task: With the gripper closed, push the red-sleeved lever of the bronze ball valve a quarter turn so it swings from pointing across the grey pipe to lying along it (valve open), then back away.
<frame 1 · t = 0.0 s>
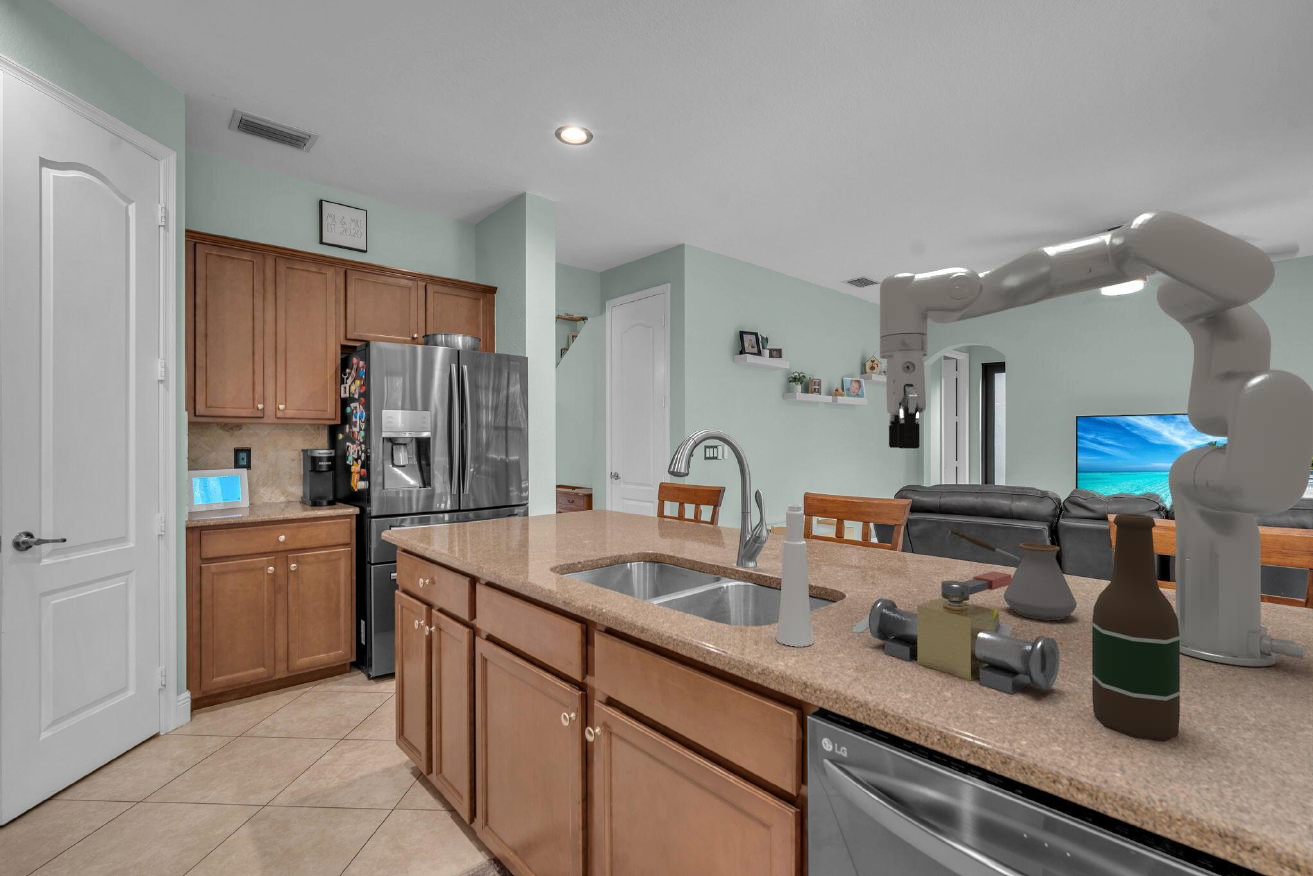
hand: (903, 447, 102), 31 cm above the worktop, tool pointing down, fingers open, 9 cm apart
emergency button: (961, 629, 105), on the worktop
valve: (955, 666, 85), on the worktop
lever: (976, 584, 89), point 11 cm above the worktop, hinge at 0.0°
cosmetic bottle: (794, 642, 96), on the worktop
coffee pot: (1008, 612, 113), on the worktop
butter knife: (870, 615, 112), on the worktop
beer bottle: (1134, 726, 68), on the worktop
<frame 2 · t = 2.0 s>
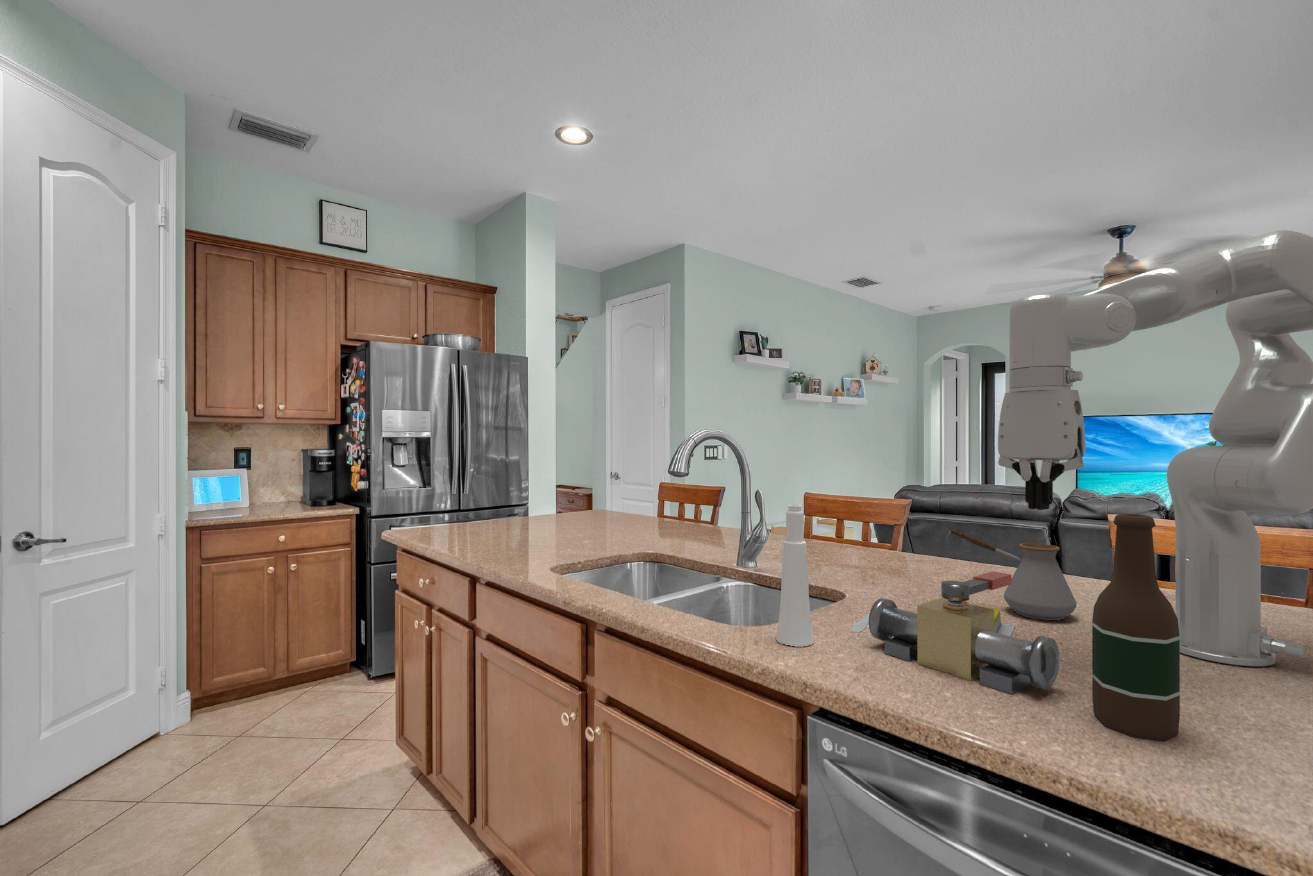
hand: (1038, 508, 86), 23 cm above the worktop, tool pointing down, fingers closed
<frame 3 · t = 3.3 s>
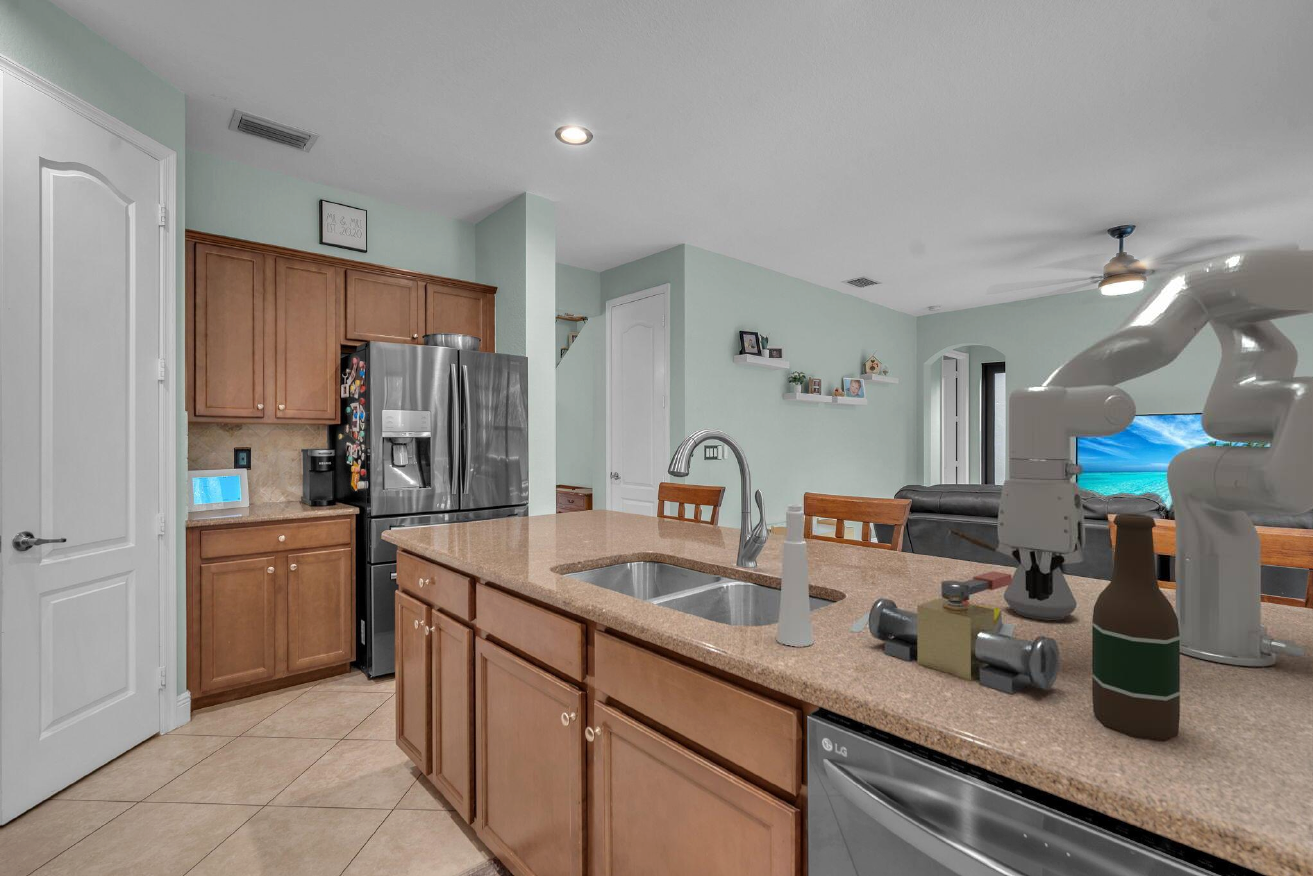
hand: (1039, 598, 86), 10 cm above the worktop, tool pointing down, fingers closed
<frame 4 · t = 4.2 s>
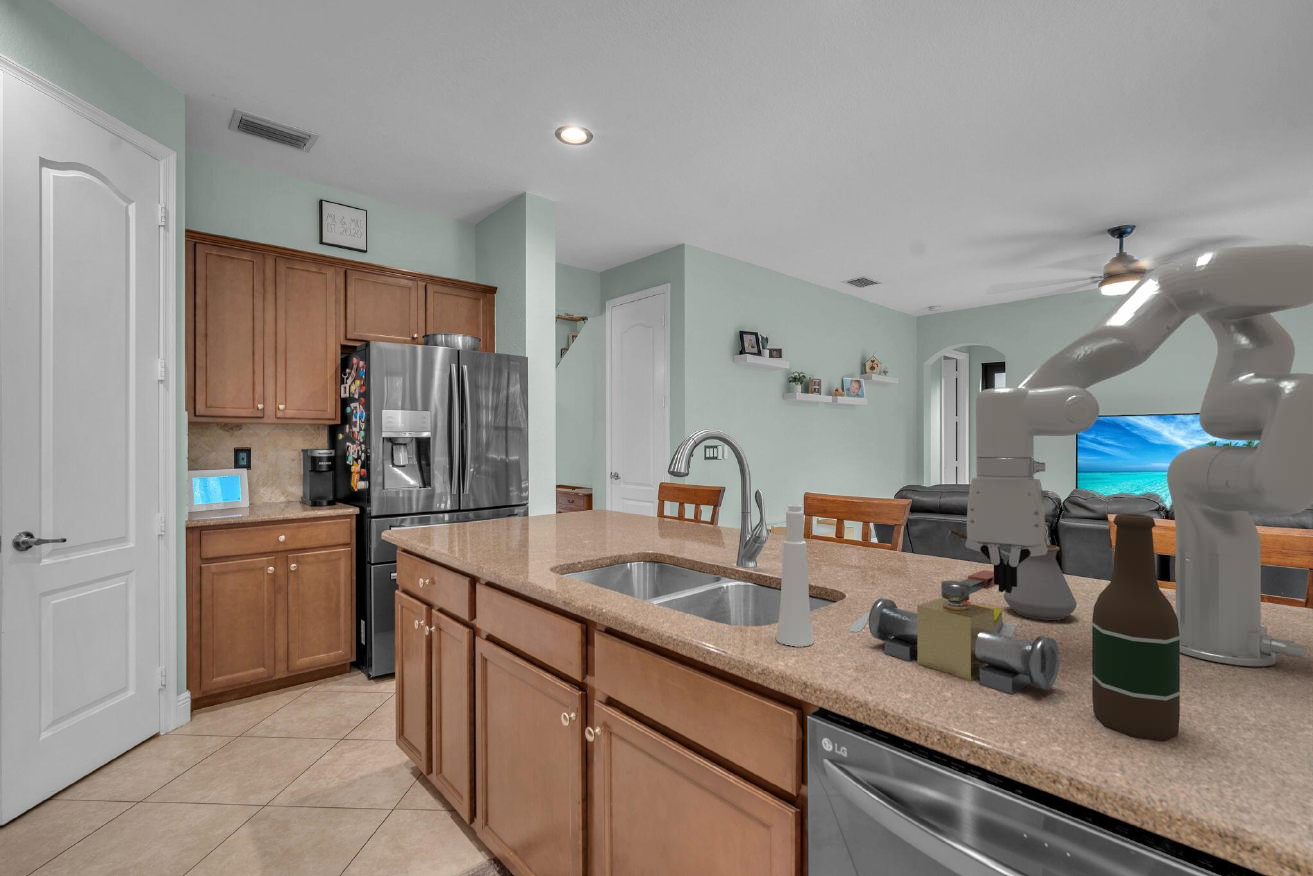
hand: (1005, 590, 90), 10 cm above the worktop, tool pointing down, fingers closed
lever: (972, 583, 90), point 11 cm above the worktop, hinge at 5.2°, touching gripper
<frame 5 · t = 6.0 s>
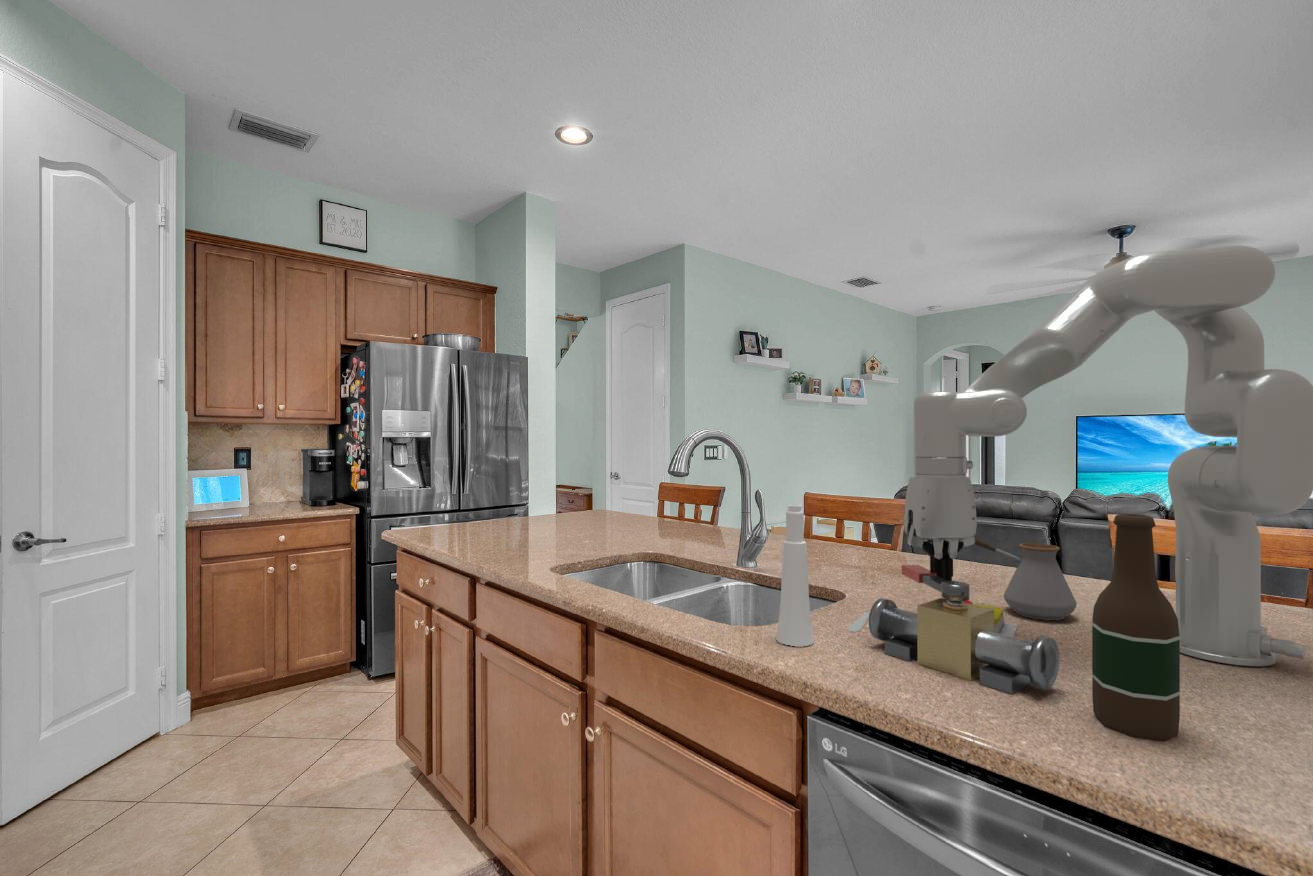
hand: (941, 581, 96), 10 cm above the worktop, tool pointing down, fingers closed
lever: (933, 580, 92), point 11 cm above the worktop, hinge at 54.5°, touching gripper
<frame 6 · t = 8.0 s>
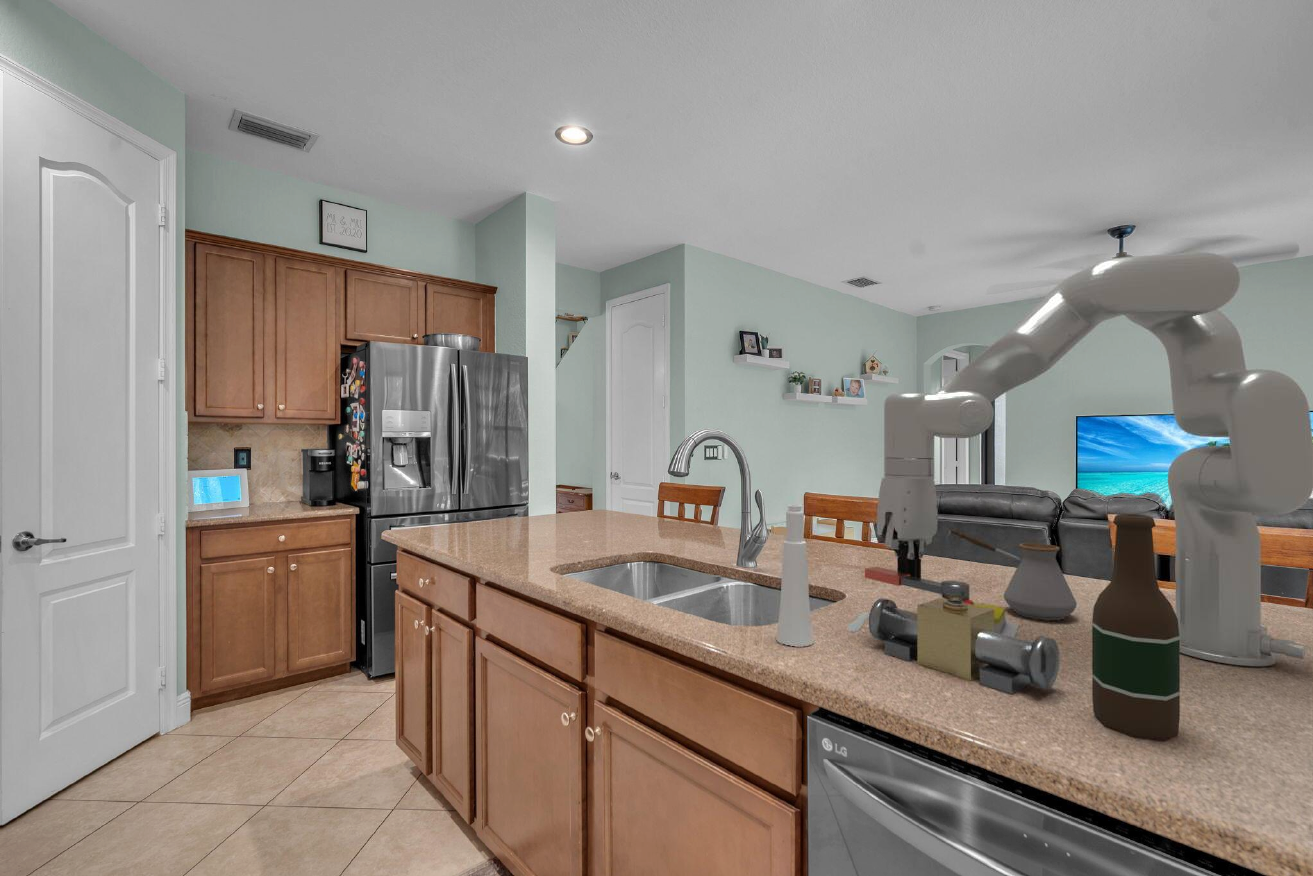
hand: (909, 581, 97), 10 cm above the worktop, tool pointing down, fingers closed
lever: (915, 581, 91), point 11 cm above the worktop, hinge at 84.8°
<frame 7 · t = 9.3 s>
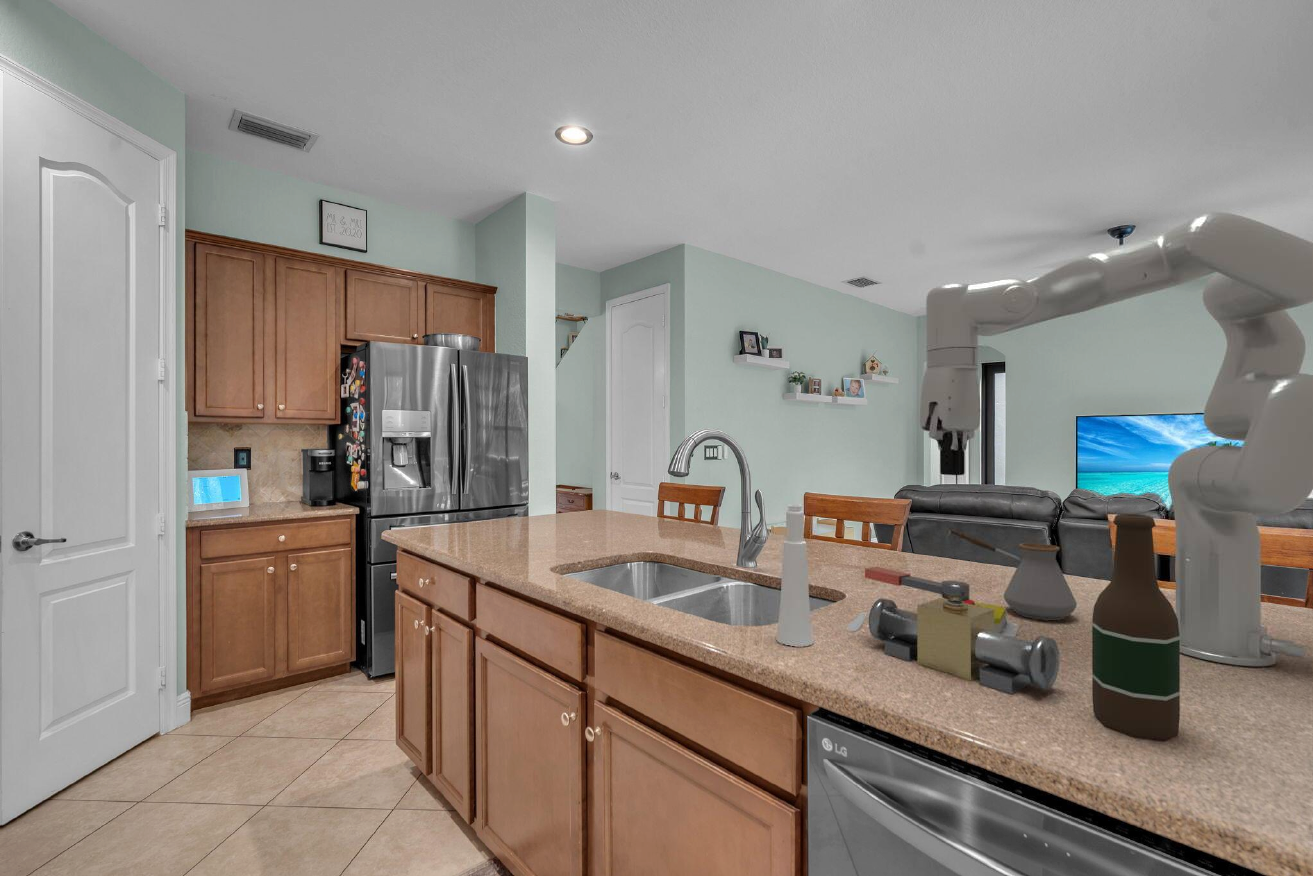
hand: (952, 474, 97), 27 cm above the worktop, tool pointing down, fingers closed
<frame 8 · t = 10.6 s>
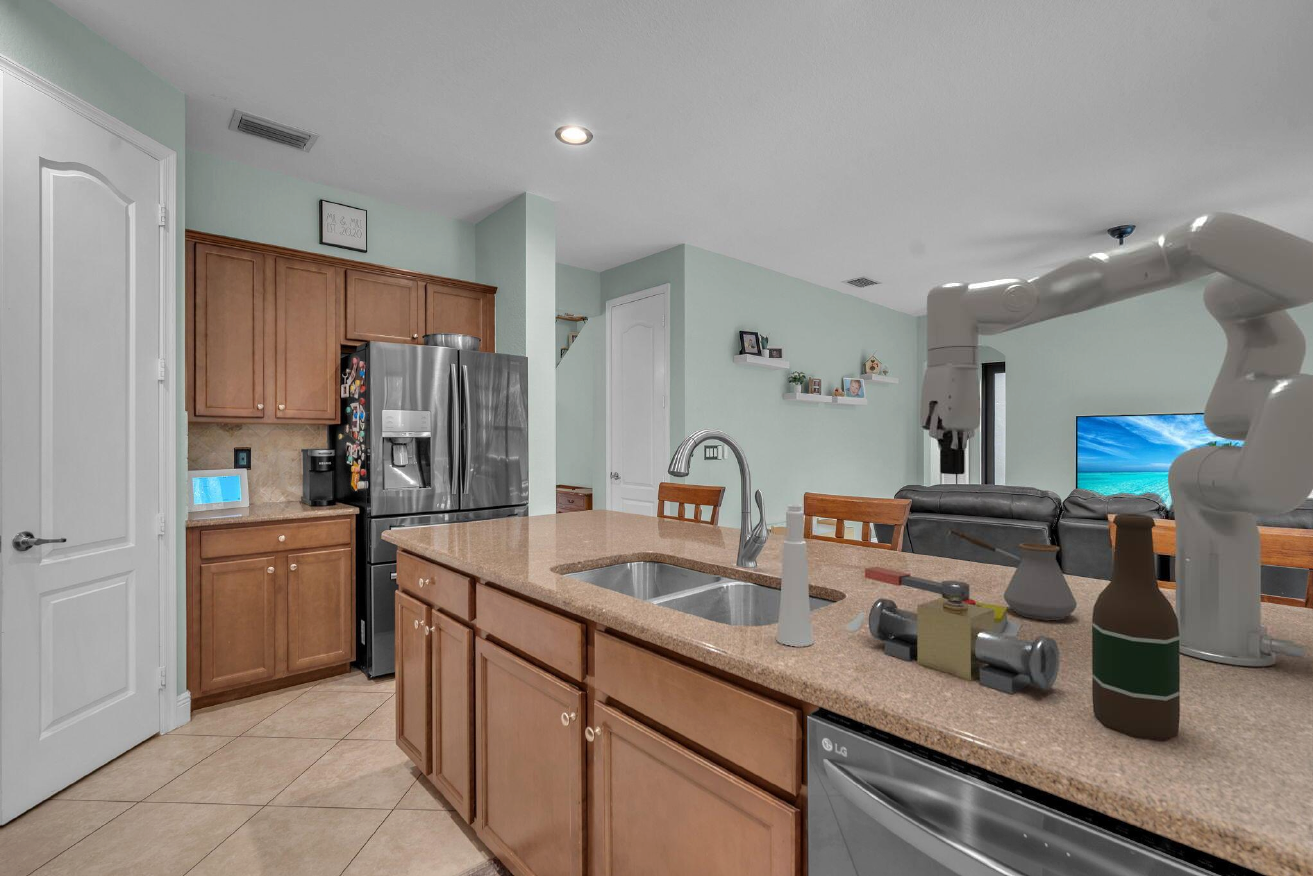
hand: (952, 473, 97), 27 cm above the worktop, tool pointing down, fingers closed
at the end: lever at +85° (first picture: +0°); lever touching nothing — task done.
